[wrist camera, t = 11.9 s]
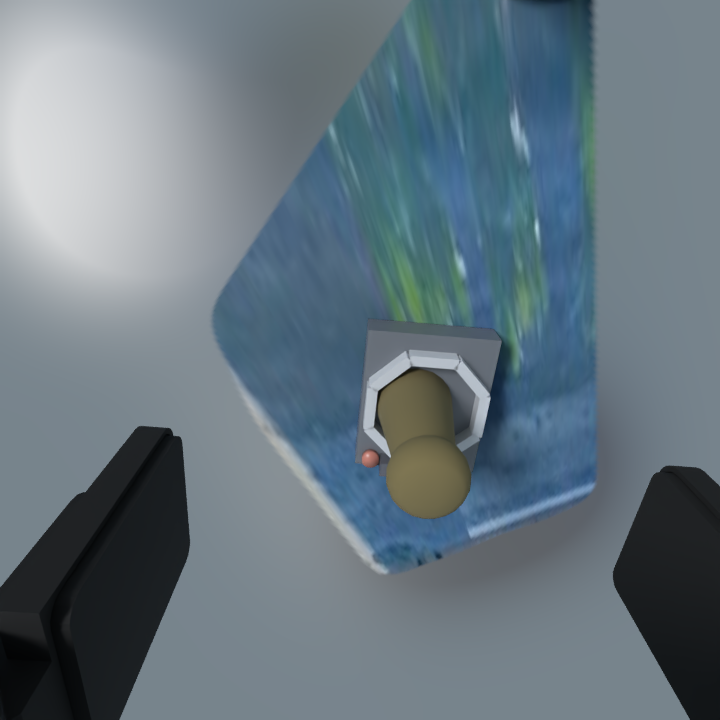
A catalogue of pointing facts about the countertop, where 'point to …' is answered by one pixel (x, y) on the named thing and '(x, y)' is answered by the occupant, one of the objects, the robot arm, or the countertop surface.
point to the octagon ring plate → (435, 354)
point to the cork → (422, 445)
